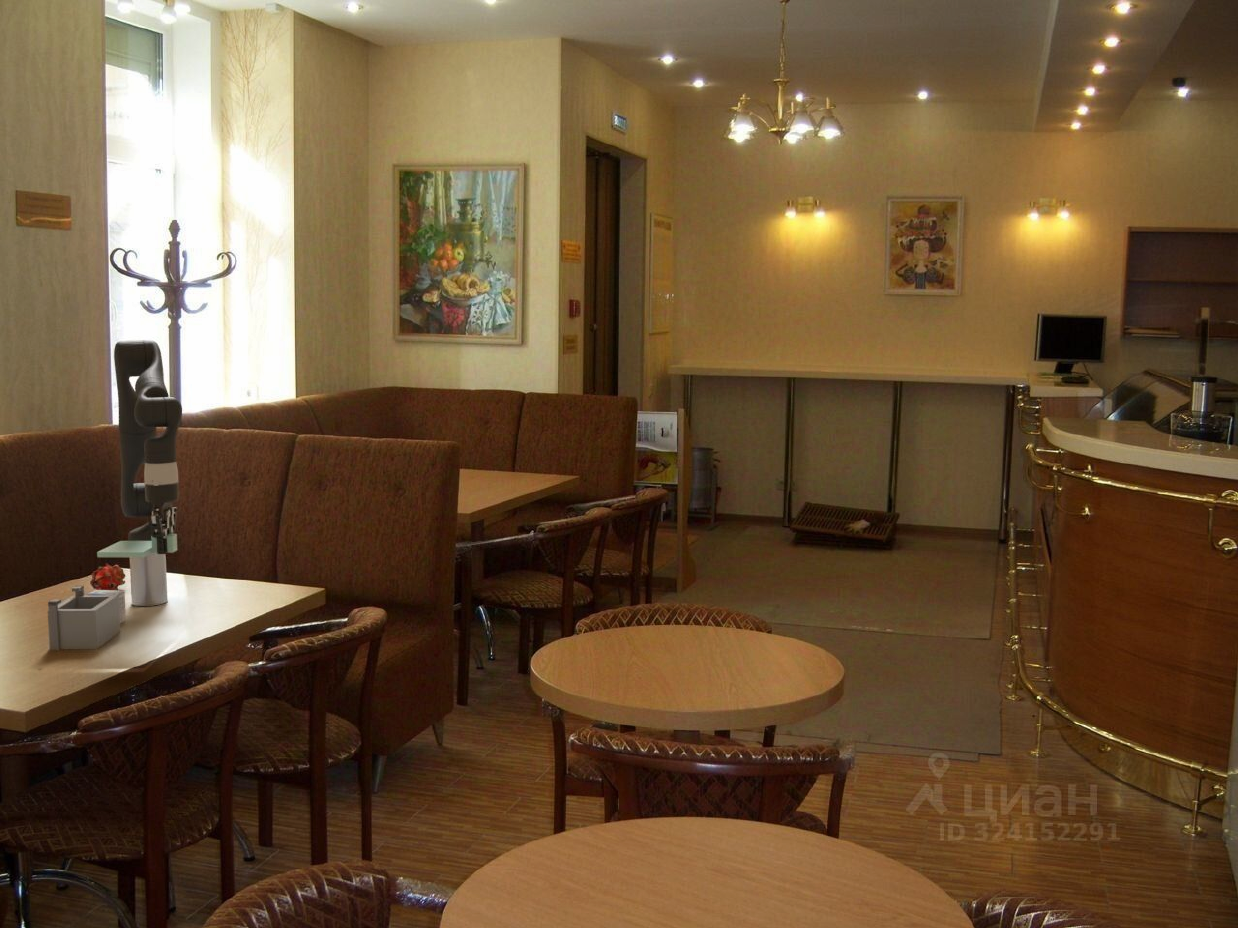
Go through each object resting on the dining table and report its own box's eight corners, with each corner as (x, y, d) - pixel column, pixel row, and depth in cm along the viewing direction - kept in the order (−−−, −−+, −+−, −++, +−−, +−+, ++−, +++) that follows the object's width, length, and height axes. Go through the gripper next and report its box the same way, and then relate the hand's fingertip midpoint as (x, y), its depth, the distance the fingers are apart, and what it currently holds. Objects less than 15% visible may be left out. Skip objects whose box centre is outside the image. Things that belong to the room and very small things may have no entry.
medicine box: (126, 623, 310) (125, 590, 309) (118, 627, 305) (116, 594, 304) (97, 622, 311) (96, 589, 309) (88, 626, 306) (86, 593, 305)
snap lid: (120, 545, 295) (120, 529, 294) (185, 545, 295) (184, 529, 295) (97, 557, 280) (96, 540, 280) (164, 557, 281) (164, 540, 280)
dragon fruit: (126, 592, 349) (98, 607, 338) (104, 574, 350) (75, 589, 339) (137, 571, 346) (109, 586, 335) (115, 553, 347) (86, 567, 336)
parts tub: (76, 633, 299) (73, 585, 297) (121, 633, 300) (119, 585, 298) (48, 653, 283) (45, 602, 281) (96, 652, 283) (93, 601, 282)
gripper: (156, 477, 293) (159, 547, 295) (134, 485, 279) (138, 558, 281) (187, 477, 293) (190, 546, 295) (167, 485, 279) (170, 558, 281)
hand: (164, 552), depth 288 cm, fingers closed on snap lid, 3 cm apart
